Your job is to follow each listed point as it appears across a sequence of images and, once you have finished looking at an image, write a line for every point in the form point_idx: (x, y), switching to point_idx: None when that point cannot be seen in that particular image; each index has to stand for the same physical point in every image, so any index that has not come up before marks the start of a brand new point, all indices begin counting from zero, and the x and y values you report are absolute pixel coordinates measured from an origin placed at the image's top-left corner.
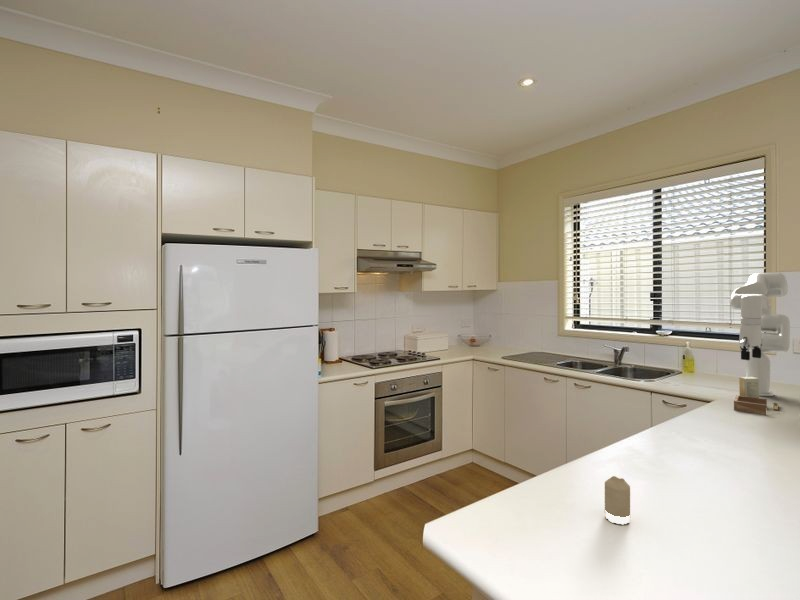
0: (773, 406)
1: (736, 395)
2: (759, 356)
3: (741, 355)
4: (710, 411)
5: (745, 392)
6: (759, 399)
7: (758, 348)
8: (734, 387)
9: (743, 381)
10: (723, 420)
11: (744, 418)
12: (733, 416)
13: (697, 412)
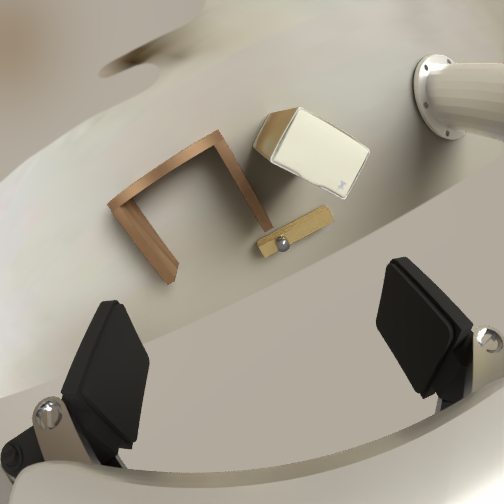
0: (258, 246)
1: (216, 132)
2: (382, 333)
3: (88, 338)
4: (38, 188)
5: (258, 151)
6: (252, 210)
7: (441, 395)
8: (452, 27)
9: (272, 144)
10: (19, 264)
11: (73, 272)
12: (60, 249)
13: (5, 187)
